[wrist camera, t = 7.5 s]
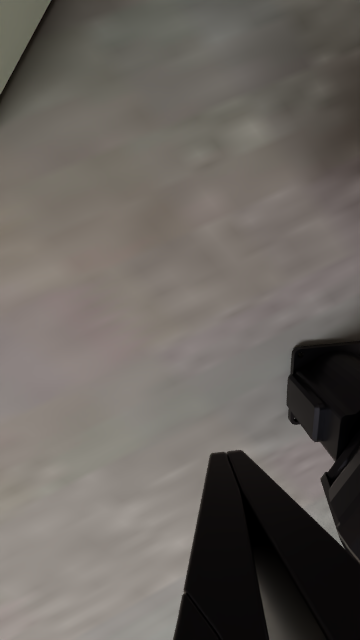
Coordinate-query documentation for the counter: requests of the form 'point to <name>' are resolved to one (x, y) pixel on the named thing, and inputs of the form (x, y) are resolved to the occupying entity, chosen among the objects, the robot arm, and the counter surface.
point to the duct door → (17, 31)
